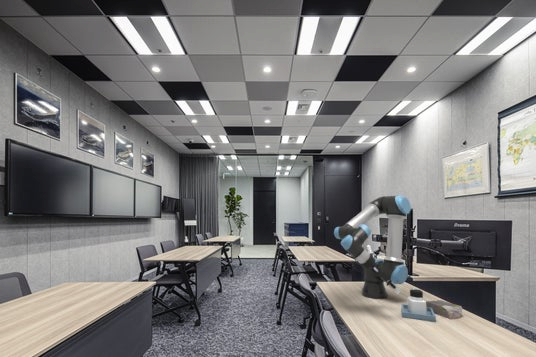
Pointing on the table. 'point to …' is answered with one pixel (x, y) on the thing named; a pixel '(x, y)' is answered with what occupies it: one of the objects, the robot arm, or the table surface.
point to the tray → (428, 317)
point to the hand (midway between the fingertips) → (395, 288)
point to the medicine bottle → (417, 302)
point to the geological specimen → (445, 309)
